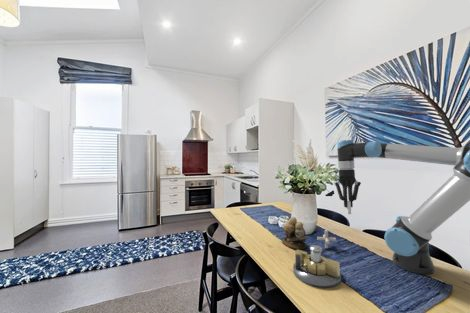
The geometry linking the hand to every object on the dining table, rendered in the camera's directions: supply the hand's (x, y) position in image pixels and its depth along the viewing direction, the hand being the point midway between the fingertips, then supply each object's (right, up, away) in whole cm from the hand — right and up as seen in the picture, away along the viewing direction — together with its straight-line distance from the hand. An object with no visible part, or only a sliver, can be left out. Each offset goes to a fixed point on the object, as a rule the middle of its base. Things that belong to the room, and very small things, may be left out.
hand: (348, 213), depth 109 cm
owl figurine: (-24, -23, +15) cm, 37 cm away
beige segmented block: (-24, -21, -16) cm, 35 cm away
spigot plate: (-24, -23, -16) cm, 36 cm away
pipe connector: (-7, -23, +11) cm, 26 cm away
